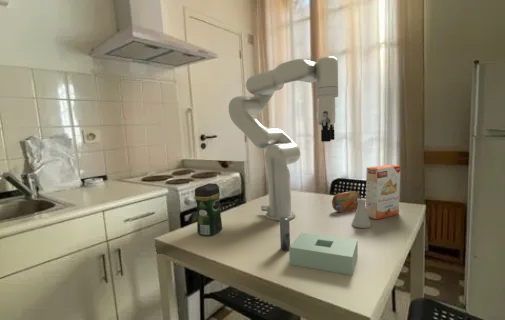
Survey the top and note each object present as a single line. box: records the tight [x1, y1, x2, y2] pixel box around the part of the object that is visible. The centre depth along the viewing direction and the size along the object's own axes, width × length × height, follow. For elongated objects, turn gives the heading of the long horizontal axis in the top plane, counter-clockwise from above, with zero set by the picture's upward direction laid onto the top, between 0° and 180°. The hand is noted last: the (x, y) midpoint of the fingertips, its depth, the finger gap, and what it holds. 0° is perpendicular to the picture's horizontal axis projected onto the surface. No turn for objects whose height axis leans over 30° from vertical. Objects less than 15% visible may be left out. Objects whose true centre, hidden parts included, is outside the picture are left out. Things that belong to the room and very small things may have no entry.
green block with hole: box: [288, 232, 359, 276], centre depth 82 cm, size 17×12×5 cm
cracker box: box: [365, 164, 401, 221], centre depth 118 cm, size 14×6×21 cm, turn 117°
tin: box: [331, 190, 362, 214], centre depth 128 cm, size 15×3×8 cm, turn 114°
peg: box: [279, 217, 291, 252], centre depth 90 cm, size 3×3×10 cm
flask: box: [351, 198, 372, 229], centre depth 108 cm, size 7×7×10 cm
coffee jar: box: [194, 182, 223, 237], centre depth 108 cm, size 10×8×19 cm
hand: (328, 140), depth 104 cm, fingers open, 9 cm apart
